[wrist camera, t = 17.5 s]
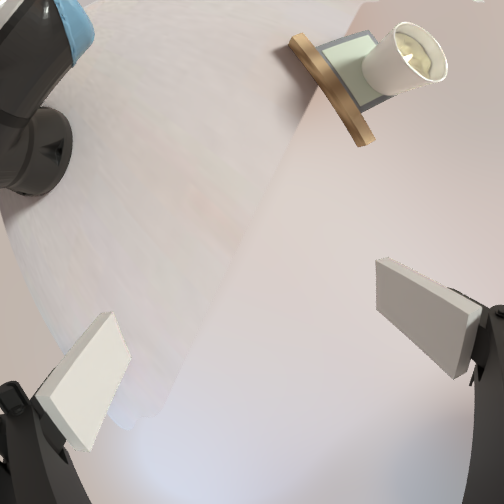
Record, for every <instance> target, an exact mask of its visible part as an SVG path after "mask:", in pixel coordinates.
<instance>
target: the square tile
mask: <svg viewBox="0 0 504 504" xmlns="http://www.w3.org/2000/svg"><path fill="white" fill-rule="evenodd" d="M377 44H378V42H377V40H376V39H375V38H374V36H373V35H372V34H371V33H370V31H369V30H365V31H362V32H359V33H356V34H352V35H349V36H346V37H343V38H340V39H337V40H334V41H331V42H329V43H326V44H323V45H320V46H318V47H315V48H316V50H317V51H318V52H319V53H320V55H321V56H322V57H323V59H324V60H325V61H326V63H327V64H328V65H329V67H330V68H331V69H332V71H333V72H334V74H335V75H336V76H337V78H338V79H339V81H340V82H341V84H342V85H343V87H344V88H345V90H346V91H347V93H348V94H349V96H350V97H351V99H352V100H353V102H354V103H355V105H356V107H357V108H358V110H359V111H360V113H362V112H364V111H366V110H368V109H370V108H372V107H374V106H375V105H378V104H380V103H382V102H384V101H385V100H387V99H389V98H391V97H394V96H396V95H393V96H387V95H383V94H380V93H378V92H377V91H375V90H374V89H373V88H372V87H371V86H370V85H369V84H368V83H367V81H366V80H365V78H364V76H363V73H362V61H363V59H364V57H365V56H366V55H367V54H368V53H369V52H370V51H371V50H372V49H373V48H374V47H375V46H376V45H377ZM397 95H398V94H397Z"/></svg>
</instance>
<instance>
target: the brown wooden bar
mask: <svg viewBox="0 0 504 504" xmlns="http://www.w3.org/2000/svg"><path fill="white" fill-rule="evenodd" d="M288 46H289V47H290V48H291V49H292V51H293V52H294V53H295V54H296V56H297V57H298V58H299V59H300V61H301V62H302V63H303V65H304V66H305V67H306V69H307V70H308V71H309V73H310V74H311V75H312V77H313V78H314V80H315V81H316V82H317V84H318V85H319V87H320V88H321V89H322V91H323V92H324V94H325V95H326V97H327V98H328V100H329V101H330V103H331V104H332V106H333V107H334V109H335V110H336V112H337V114H338V115H339V117H340V118H341V120H342V121H343V123H344V125H345V126H346V128H347V130H348V131H349V133H350V135H351V136H352V138H353V140H354V142H355V143H356V145H357V146H358V147H361V146H365V145H368V144H370V143H371V142H373V141H374V140H376V139H375V137H374V135H373V134H372V132H371V130H370V128H369V127H368V125H367V123H366V121H365V120H364V118H363V116H362V115H361V113H360V111H359V110H358V108H357V107H356V105H355V103H354V102H353V100H352V99H351V97H350V96H349V94H348V93H347V91H346V90H345V88H344V87H343V85H342V84H341V82H340V81H339V79H338V78H337V76H336V75H335V74H334V72H333V71H332V69H331V68H330V67H329V65H328V64H327V63H326V61H325V60H324V59H323V57H322V56H321V55H320V53H319V52H318V51H317V50H316V48H315V47H314V46H313V45H312V43H311V42H310V41H309V40H308V38H307V37H306V36H305V35H304V34H303V33H300V34H297V35H295V36H292V38H291V40H290V42H289V44H288Z"/></svg>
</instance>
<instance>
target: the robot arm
mask: <svg viewBox="0 0 504 504" xmlns="http://www.w3.org/2000/svg"><path fill="white" fill-rule="evenodd" d="M94 36H95V33H94V28H93V25H92V23H91V21H90V19H89V17H88V16H87V14H86V12H85V11H84V10H83V8H82V7H81V5H80V4H79V3H78V1H77V0H0V188H7V189H10V190H12V191H14V192H16V193H18V194H20V195H23V196H38V195H42V194H45V193H47V192H49V191H50V190H51V189H53V188H54V187H55V186H56V185H57V183H58V182H59V181H60V180H61V178H62V177H63V175H64V173H65V171H66V169H67V166H68V164H69V161H70V157H71V152H72V142H73V140H72V131H71V127H70V124H69V122H68V120H67V118H66V117H65V116H64V115H63V114H62V113H61V112H59V111H57V110H55V109H52V108H49V107H40V106H41V104H42V103H43V102H44V100H45V99H46V98H47V96H48V95H49V94H50V92H51V91H52V90H53V89H54V87H55V86H56V85H57V84H58V83H59V81H60V80H61V79H62V78H63V77H64V75H65V74H66V73H67V72H68V71H69V70H70V69H71V68H73V67H74V66H75V64H76V61H77V60H78V59H79V58H80V57H81V56H82V54H83V53H84V52H85V51H86V50H87V49H88V48H89V47H90V46H91V44H92V42H93V40H94ZM376 309H377V311H379V312H380V313H381V314H382V315H383V316H384V317H386V318H387V319H388V320H389V321H390V322H391V323H392V324H393V325H395V326H396V327H397V328H398V329H399V330H400V331H401V332H402V333H404V334H405V335H406V336H407V337H408V338H409V339H410V340H411V341H412V342H413V343H414V344H415V345H417V346H418V347H419V348H420V349H421V350H422V351H423V352H424V353H425V354H426V355H428V356H429V357H430V358H431V359H432V360H433V361H434V362H435V363H436V364H437V365H438V366H439V367H440V368H442V370H443V371H445V372H446V373H447V374H448V375H449V376H450V377H451V378H452V379H453V380H454V379H455V378H457V377H459V376H461V375H462V374H464V373H465V372H467V370H468V366H469V363H470V360H471V359H472V360H474V361H475V362H476V365H475V368H474V371H473V375H472V378H471V381H470V384H469V386H472V383H473V381H474V383H475V409H474V411H475V412H474V430H473V442H472V451H471V459H470V466H469V473H468V478H467V484H466V489H465V493H464V497H463V502H462V504H504V305H495V306H493V307H491V308H490V309H489V308H488V307H486V306H484V305H482V304H480V303H479V302H477V301H475V300H473V299H471V298H469V297H468V296H466V295H463V294H462V293H461V292H459V291H457V290H455V289H451V288H448V287H445V286H443V285H441V284H439V283H438V282H436V281H434V280H432V279H430V278H428V277H426V276H424V275H422V274H420V273H418V272H417V271H414V270H413V269H411V268H409V267H407V266H405V265H403V264H401V263H399V262H397V261H395V260H393V259H391V258H389V257H387V258H383V259H379V260H376ZM131 358H132V357H131V355H130V353H129V350H128V348H127V345H126V343H125V341H124V338H123V336H122V333H121V331H120V328H119V325H118V323H117V320H116V317H115V315H114V312H106V313H101V314H100V315H99V316H98V317H97V318H96V319H95V321H94V322H93V323H92V324H91V325H90V326H89V328H88V329H87V330H86V331H85V332H84V333H83V335H82V336H81V337H80V338H79V339H78V341H77V342H76V343H75V344H74V345H73V347H72V348H71V349H70V350H69V352H68V353H67V354H66V355H65V357H64V358H63V359H62V360H61V362H60V363H59V364H58V365H57V367H55V368H54V369H53V370H52V372H51V373H50V374H49V375H48V378H46V379H45V381H44V383H42V385H41V386H40V387H39V388H38V390H37V391H36V392H35V394H34V395H33V397H32V398H31V399H30V400H29V399H28V397H27V396H26V394H25V392H24V391H23V389H22V388H21V386H20V384H19V383H18V382H17V381H10V382H6V383H4V384H3V385H1V386H0V408H1V409H2V411H3V412H4V413H5V414H1V415H0V455H1V456H2V457H3V458H4V459H3V463H2V462H1V461H0V504H92V503H91V502H90V500H89V498H88V496H87V494H86V492H85V490H84V488H83V485H82V484H81V481H80V479H79V477H78V475H77V472H76V470H75V468H74V465H73V463H72V460H71V458H70V456H69V453H68V451H67V450H66V449H65V447H64V444H65V442H66V440H67V441H68V443H69V444H70V445H71V446H72V447H73V448H74V450H77V451H83V452H91V449H92V447H93V444H94V442H95V439H96V437H97V434H98V432H99V430H100V427H101V425H102V422H103V420H104V418H105V415H106V413H107V411H108V408H109V406H110V404H111V402H112V399H113V397H114V395H115V393H116V390H117V388H118V386H119V384H120V382H121V379H122V377H123V375H124V373H125V371H126V369H127V367H128V364H129V362H130V360H131Z"/></svg>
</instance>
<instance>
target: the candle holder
mask: <svg viewBox="0 0 504 504" xmlns="http://www.w3.org/2000/svg"><path fill="white" fill-rule="evenodd" d="M362 73H363V76H364V78H365V80H366V81H367V83H368V84H369V85H370V86H371V87H372V88H373V89H374V90H375V91H377V92H378V93H380V94H383V95H387V96H393V95H397V94H400V93H403V92H406V91H409V90H413V89H416V88H419V87H422V86H426V85H429V84H432V83H437V82H441V81H442V80H444V78H445V77H446V75H447V61H446V57H445V55H444V52H443V51H442V48H441V47H440V45H439V44H438V43H437V41H436V40H435V39H434V38H433V37H432V35H430V34H429V33H428V32H427V31H426V30H424V29H423V28H422V27H420V26H418V25H416V24H413V23H409V22H402V23H399V24H398V25H396V26H395V27H394V29H393V30H392V31H391V32H390V33H388V34H387V35H386V36H385V37H384V38H383V39H382V40H381V41H380V42H379V43H378V44H377V45H376V46H375V47H374V48H373V49H372V50H371V51H370V52H369V53H368V54H367V55H366V56H365V57H364V59H363V61H362Z"/></svg>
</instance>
